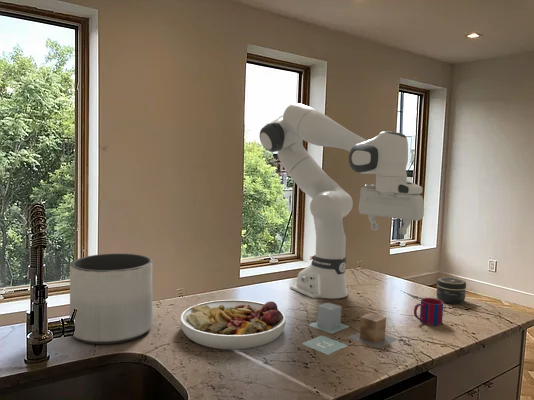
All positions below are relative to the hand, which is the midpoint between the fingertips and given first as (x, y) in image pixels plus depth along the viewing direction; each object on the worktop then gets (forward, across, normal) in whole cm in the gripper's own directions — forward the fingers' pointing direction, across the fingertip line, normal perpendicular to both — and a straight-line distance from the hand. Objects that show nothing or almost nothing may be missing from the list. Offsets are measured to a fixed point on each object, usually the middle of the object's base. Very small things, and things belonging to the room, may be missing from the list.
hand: (388, 232), depth 135 cm
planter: (+29, -48, -64) cm, 85 cm away
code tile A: (+29, -2, -26) cm, 39 cm away
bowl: (+30, -26, -38) cm, 55 cm away
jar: (+29, +2, +43) cm, 52 cm away
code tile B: (+29, -10, -14) cm, 34 cm away
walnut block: (+28, +4, -12) cm, 31 cm away
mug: (+29, +7, +14) cm, 33 cm away
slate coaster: (+29, +4, -12) cm, 32 cm away
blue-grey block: (+28, -10, -14) cm, 33 cm away
